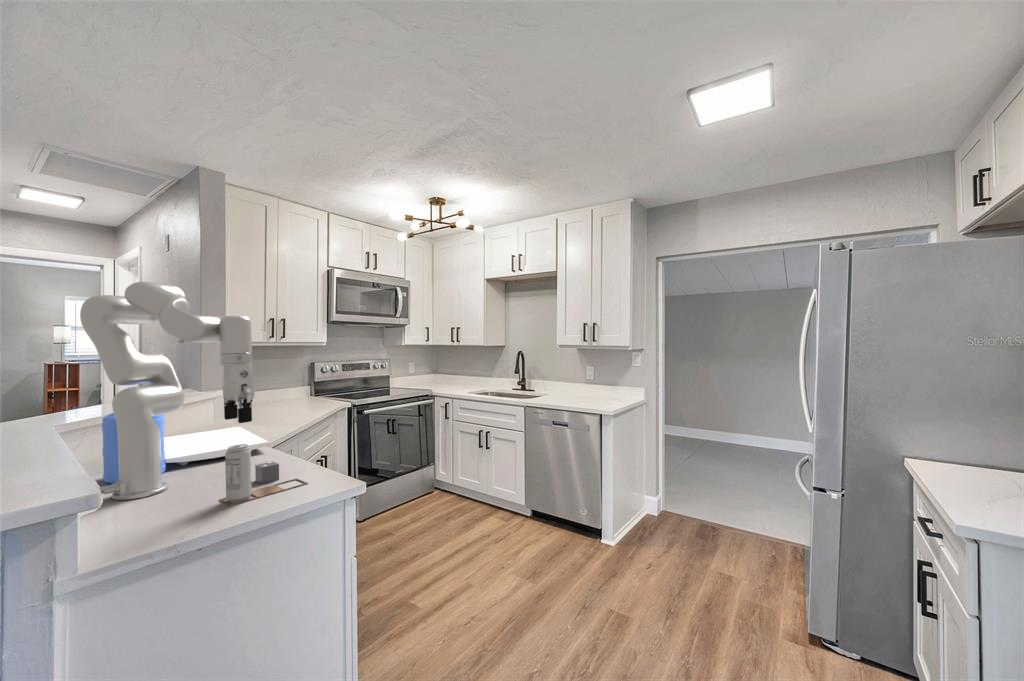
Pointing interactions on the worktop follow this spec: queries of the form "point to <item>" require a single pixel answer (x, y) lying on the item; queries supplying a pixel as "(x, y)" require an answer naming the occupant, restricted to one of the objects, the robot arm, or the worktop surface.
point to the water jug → (112, 446)
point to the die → (267, 472)
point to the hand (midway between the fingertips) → (238, 420)
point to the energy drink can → (238, 473)
